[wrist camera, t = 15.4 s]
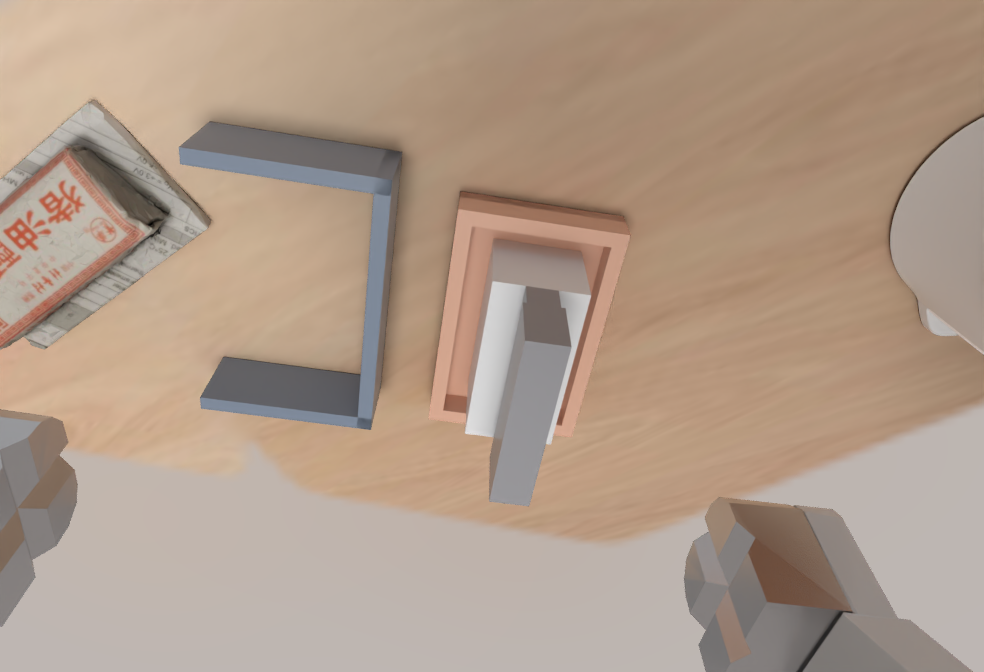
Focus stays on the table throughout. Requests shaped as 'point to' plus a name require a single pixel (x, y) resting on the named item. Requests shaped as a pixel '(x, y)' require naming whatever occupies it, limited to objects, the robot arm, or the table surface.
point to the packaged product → (83, 226)
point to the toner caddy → (524, 358)
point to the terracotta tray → (467, 276)
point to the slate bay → (379, 174)
